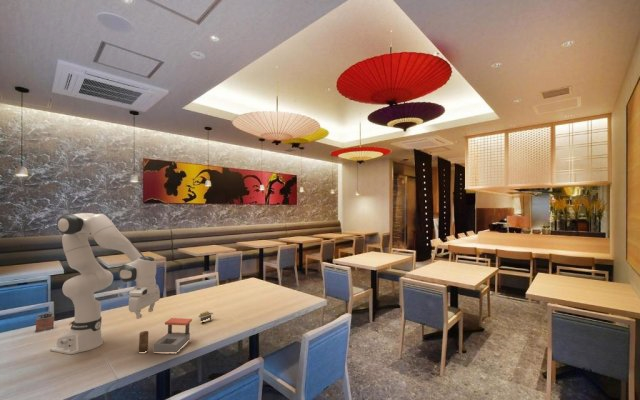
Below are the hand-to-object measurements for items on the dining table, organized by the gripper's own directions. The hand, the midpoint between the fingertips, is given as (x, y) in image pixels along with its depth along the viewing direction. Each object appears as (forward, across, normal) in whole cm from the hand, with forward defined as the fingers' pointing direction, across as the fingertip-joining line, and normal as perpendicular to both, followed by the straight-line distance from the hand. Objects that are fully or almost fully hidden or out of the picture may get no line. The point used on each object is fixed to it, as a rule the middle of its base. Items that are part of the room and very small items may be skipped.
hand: (145, 314), depth 150 cm
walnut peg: (+19, 0, 0) cm, 19 cm away
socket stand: (+19, -6, +12) cm, 23 cm away
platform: (+20, -42, +14) cm, 49 cm away
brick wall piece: (+19, -21, -75) cm, 80 cm away
